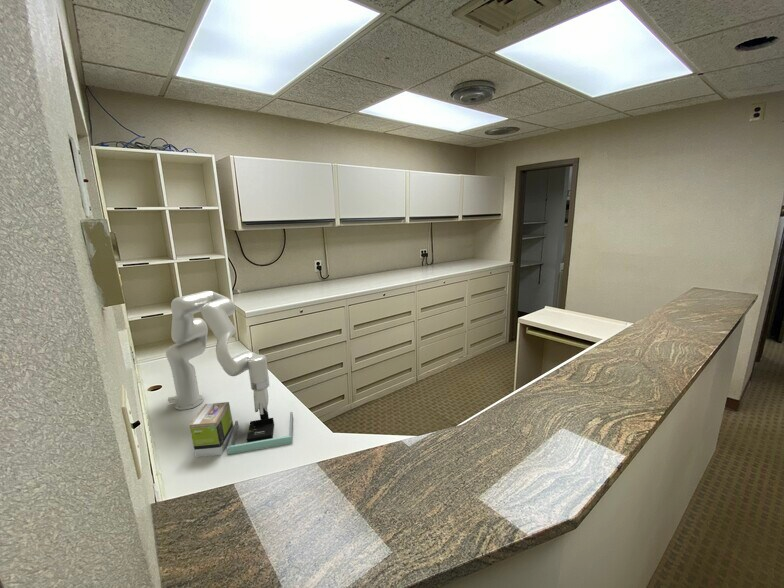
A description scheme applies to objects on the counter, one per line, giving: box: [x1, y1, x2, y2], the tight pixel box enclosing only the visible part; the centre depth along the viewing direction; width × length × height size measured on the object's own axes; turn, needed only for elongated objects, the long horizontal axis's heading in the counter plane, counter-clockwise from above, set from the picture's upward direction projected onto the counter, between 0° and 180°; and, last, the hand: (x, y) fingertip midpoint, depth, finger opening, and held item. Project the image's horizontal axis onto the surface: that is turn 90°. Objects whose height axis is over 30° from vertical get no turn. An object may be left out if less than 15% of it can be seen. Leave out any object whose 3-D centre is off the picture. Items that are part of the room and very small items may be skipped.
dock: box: [226, 411, 294, 455], centre depth 148 cm, size 24×18×3 cm
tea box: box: [189, 401, 234, 458], centre depth 141 cm, size 15×10×15 cm
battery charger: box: [246, 417, 275, 443], centre depth 148 cm, size 13×10×4 cm
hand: (264, 421), depth 156 cm, fingers closed
